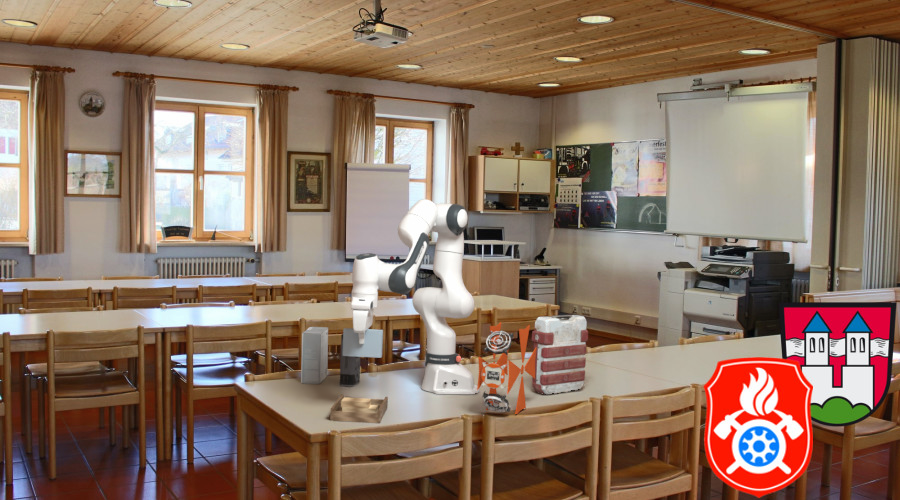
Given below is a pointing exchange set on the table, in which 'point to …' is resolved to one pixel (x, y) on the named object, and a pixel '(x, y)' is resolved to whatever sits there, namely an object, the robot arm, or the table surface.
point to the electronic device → (349, 369)
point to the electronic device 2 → (504, 370)
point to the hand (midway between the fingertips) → (362, 342)
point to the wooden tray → (359, 416)
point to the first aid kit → (559, 353)
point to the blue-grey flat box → (367, 349)
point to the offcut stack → (358, 405)
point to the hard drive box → (314, 355)
